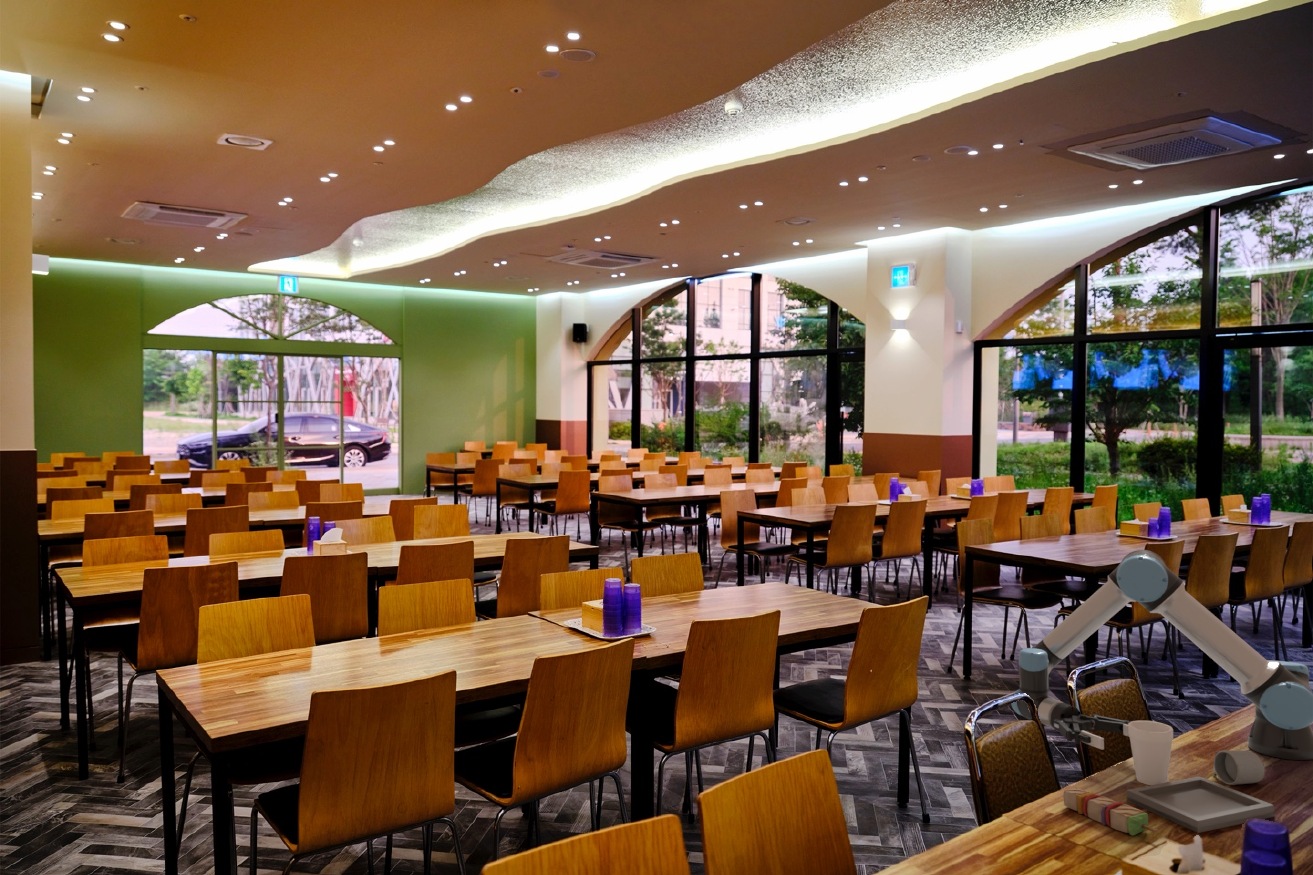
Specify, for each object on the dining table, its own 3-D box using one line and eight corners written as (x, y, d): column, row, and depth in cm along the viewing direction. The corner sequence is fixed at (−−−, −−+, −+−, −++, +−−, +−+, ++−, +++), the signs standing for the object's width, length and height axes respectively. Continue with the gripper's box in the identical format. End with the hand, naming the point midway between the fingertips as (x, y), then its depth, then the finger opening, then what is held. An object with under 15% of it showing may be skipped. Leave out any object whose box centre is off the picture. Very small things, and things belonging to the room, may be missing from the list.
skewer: (1059, 809, 201) (1059, 787, 201) (1079, 804, 204) (1079, 782, 204) (1146, 846, 183) (1145, 821, 183) (1166, 839, 186) (1166, 815, 186)
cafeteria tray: (1199, 786, 212) (1199, 776, 212) (1274, 816, 195) (1273, 804, 195) (1126, 800, 205) (1126, 789, 205) (1197, 832, 188) (1197, 820, 188)
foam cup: (1174, 777, 218) (1173, 723, 218) (1174, 790, 210) (1172, 734, 210) (1130, 771, 223) (1129, 718, 223) (1128, 783, 215) (1126, 729, 215)
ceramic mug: (1268, 786, 211) (1267, 753, 212) (1238, 789, 210) (1237, 756, 210) (1232, 771, 222) (1231, 739, 222) (1203, 774, 220) (1202, 742, 220)
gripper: (1097, 724, 247) (1163, 749, 227) (1022, 735, 239) (1084, 762, 219) (1096, 697, 247) (1162, 719, 227) (1022, 707, 239) (1084, 731, 219)
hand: (1124, 740), depth 223 cm, fingers open, 13 cm apart
